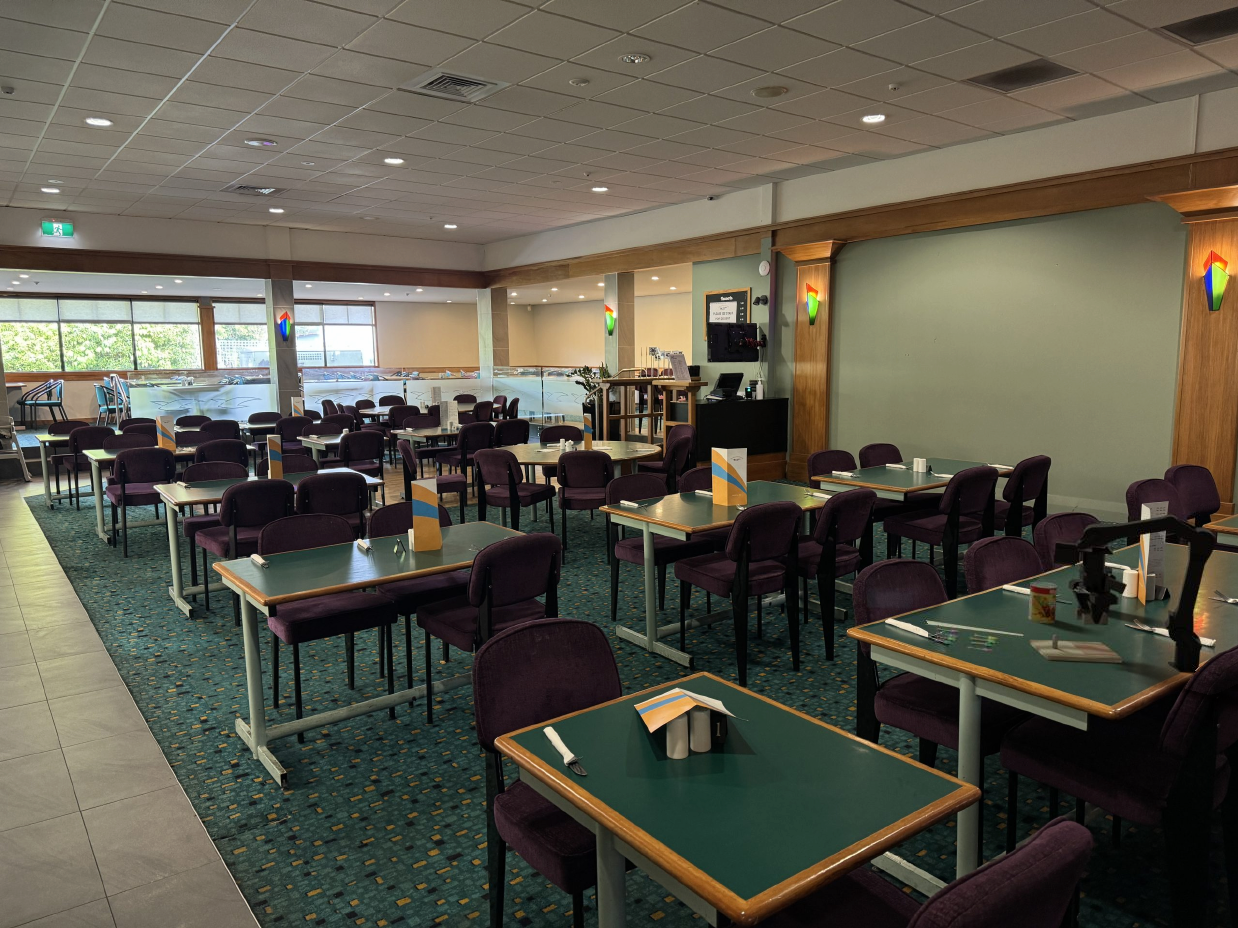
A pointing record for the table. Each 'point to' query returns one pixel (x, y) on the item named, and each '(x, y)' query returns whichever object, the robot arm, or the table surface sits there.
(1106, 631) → the table surface
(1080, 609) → the c link
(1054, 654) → the board
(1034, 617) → the canned food
